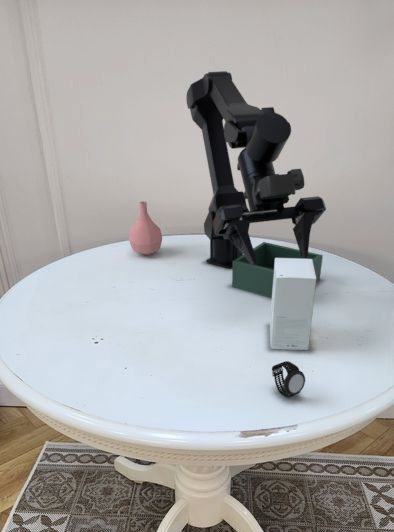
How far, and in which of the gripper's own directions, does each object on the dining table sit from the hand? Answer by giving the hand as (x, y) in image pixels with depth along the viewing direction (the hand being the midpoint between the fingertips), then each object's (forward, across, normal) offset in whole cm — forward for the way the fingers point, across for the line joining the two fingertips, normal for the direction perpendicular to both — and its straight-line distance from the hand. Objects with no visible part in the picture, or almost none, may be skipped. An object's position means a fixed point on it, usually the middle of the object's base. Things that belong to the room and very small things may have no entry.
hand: (280, 261), depth 89 cm
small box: (+12, 0, +5) cm, 13 cm away
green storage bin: (-2, +6, +19) cm, 20 cm away
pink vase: (-20, -16, +36) cm, 44 cm away
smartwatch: (+22, -6, -5) cm, 24 cm away
